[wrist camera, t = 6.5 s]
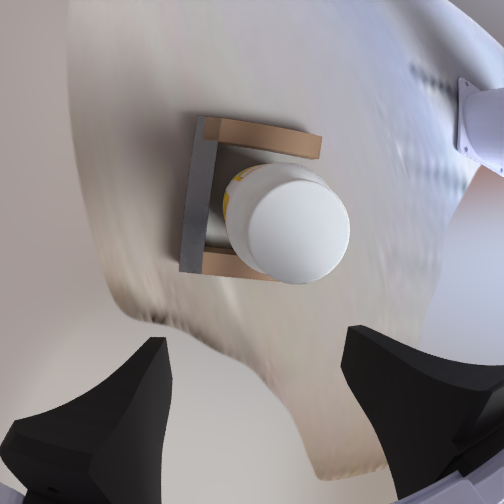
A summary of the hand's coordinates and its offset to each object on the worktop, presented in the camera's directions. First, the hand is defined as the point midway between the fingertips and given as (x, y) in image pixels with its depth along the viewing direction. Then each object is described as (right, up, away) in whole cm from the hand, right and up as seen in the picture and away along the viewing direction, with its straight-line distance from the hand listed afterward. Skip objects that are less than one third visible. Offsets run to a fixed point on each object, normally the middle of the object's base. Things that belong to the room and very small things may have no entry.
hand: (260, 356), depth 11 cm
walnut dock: (0, +7, +9) cm, 12 cm away
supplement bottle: (0, +7, +9) cm, 12 cm away
